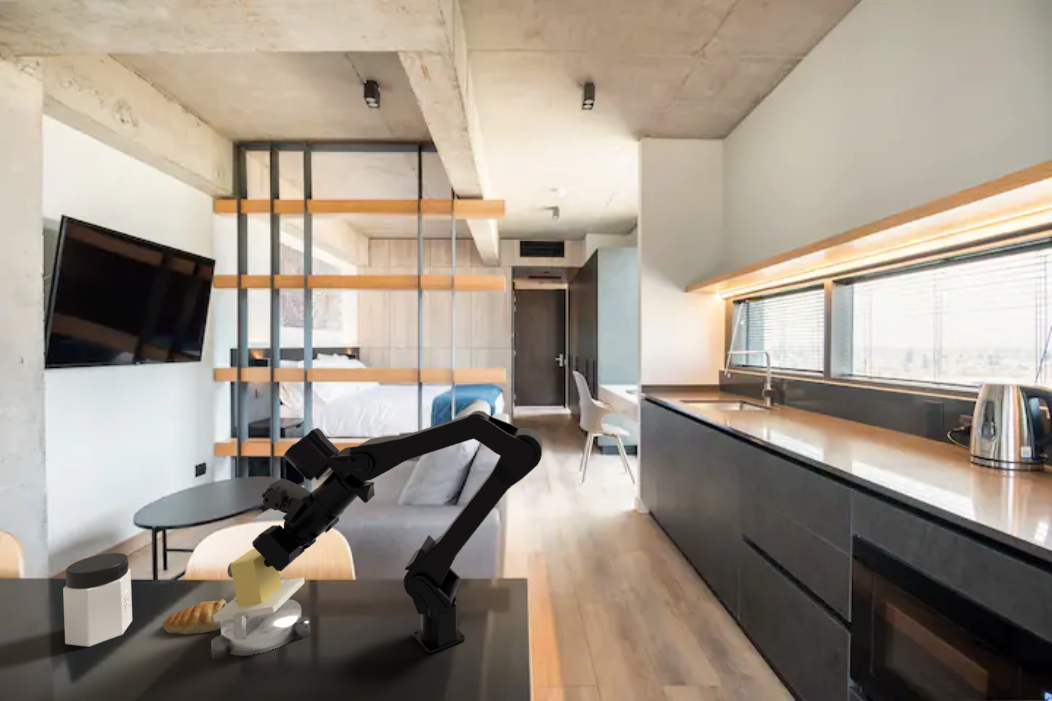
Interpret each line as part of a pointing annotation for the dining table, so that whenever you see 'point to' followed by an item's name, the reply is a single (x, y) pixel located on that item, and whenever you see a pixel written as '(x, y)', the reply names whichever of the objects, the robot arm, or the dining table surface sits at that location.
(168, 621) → the pastry
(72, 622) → the jar
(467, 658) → the dining table surface
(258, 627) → the tribrach base
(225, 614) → the instrument
